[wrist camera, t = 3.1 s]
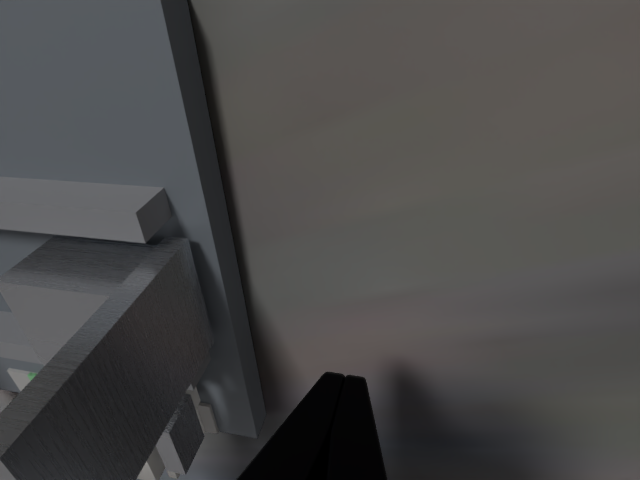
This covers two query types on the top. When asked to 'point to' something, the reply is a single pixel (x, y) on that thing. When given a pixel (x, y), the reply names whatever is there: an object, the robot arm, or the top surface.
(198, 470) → the top surface
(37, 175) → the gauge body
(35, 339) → the dark grey angled block
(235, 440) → the top surface
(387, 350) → the top surface
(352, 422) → the robot arm
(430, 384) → the top surface
